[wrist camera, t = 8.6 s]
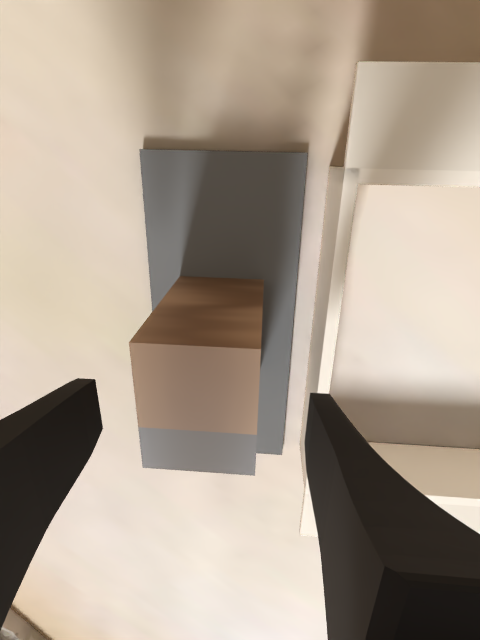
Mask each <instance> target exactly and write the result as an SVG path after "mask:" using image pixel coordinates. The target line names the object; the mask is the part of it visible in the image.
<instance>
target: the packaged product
mask: <svg viewBox="0 0 480 640" xmlns="http://www.w3.org/2000/svg"><path fill="white" fill-rule="evenodd" d="M0 640H47V639H46V638H45V637H43V636H42V635H41V634H40V633H39V632H38V631H37V630H36V629H34V628H33V627H32V626H31V625H30V624H29V623H28V622H26V621H25V620H24V619H23V618H22V617H21V616H19V615H18V614H17V613H16V612H15V611H13V610H12V609H11V608H10V609H9V612H8V614H7V616H6V619H5V621H4V624H3V626H2V628H1V631H0Z"/></svg>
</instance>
